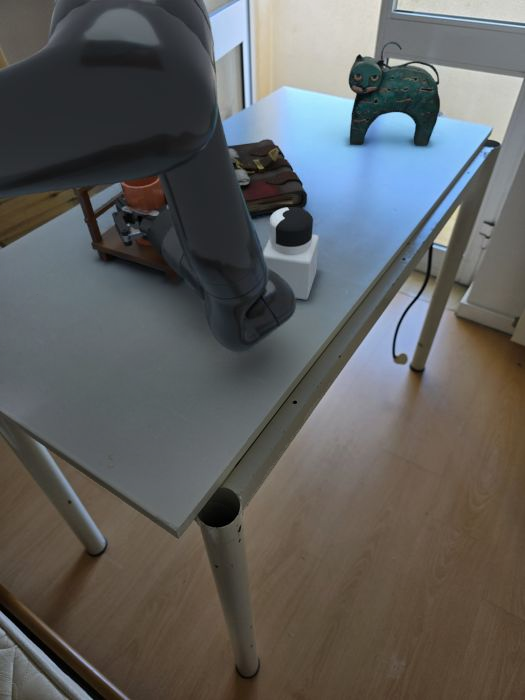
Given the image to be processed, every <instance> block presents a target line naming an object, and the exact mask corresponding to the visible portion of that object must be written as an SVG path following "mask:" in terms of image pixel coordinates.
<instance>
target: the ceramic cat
mask: <svg viewBox="0 0 525 700" xmlns="http://www.w3.org/2000/svg"><path fill="white" fill-rule="evenodd" d="M390 44H391V45H396V46H397V47H398V48H399V50H400V51H401V50H402V49H403V48H402V46H401V45H400V44H399V42H397V41H389V42H387V43H385V44H384V46H383V48H382V50H381V54H380V60H377V59H376V58H374V57H372V56H367V55H365V56H363V55H361V53H359V54H357V56H356V57H355V60H354V62H353V64H352V66H351V68H350V71H349V75H348V85H349V88H350V90H351V91H352V92H353V93H355V97H354V102H353V106H352V111H351V117H350V127H349V145H350V146H351V145H352V146H363V144H364V142H365V138H366V135H367V133H368V130H369V128H370V126H371V125H372V124H373V123H374V122H375V120H377V119H378V118H379V117H380V116H382V115H386V114H392V113H401V114H404V115H407V116H408V117H410V118H411V119H412V121H413V122H414V124H415V125H414V126H415V127H414V133H413V139H412V140H413V141H412V142H413V144H414V145H415V146H417V147H427V146H428V145H429V143H430V140H431V137H432V134H433V132H434V130H435V126H436V124H437V121H438V117H439V113H440V109H441V98H440V95H439V87H438V86H439V85H440V76H439V72H438V71H437V68H436V67H435V65H433V64H431V63H429V62H426V61H420V60H413V61H408V62H406V63H401V64H399V65H392V66H391V65H388V64H386V63H385V59H384V58H383V57H384V56H383V53H384V50H385V48H386V47H387V46H389V45H390ZM412 64H417V65H423V66H427V67H428V68H430V69H432V70H433V72H434V74H435V75H436V79H437V81H436V80H435V78H434V77H433V75H431V73H429V71H427V70H426V69H425V68H422V67H419V66H416V65H412Z"/></svg>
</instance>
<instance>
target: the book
mask: <svg viewBox="0 0 525 700" xmlns="http://www.w3.org/2000/svg"><path fill="white" fill-rule="evenodd" d="M228 149H229V153H230V156H231V160H232V163H233V166H234V169H235V173H236V176H237V179H238V182H239V185H240V188H241V190H242V193H243V196H244V199H245V202H246V205H247V208H248V210H249V213H250V216H251V217H254V216H259V215H264V214H271V213H272V214H273V213H274V212H275V211H277V210H279V209H281V208H286V207H297V208H301V209H304V208H305V207H306V206H307V203H308V193H307V191H306V190H305V189H304V187H303V182H302V181H301V179H300V178H299V176H298V174H297V173H296V172H295V171H294V168H293V167H292V165H291V163H290V162H289V161H288V159H286V158H285V155H284V152H283V151H282V150H281V148H280V146H279V145H276V144H275V142H274V141H273V139H270V138H266V139H261V140H260V141H257V142H249V143H242V144H241V143H240V144H234V145H233V144H232V145H228Z"/></svg>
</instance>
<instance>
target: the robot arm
mask: <svg viewBox="0 0 525 700" xmlns="http://www.w3.org/2000/svg"><path fill="white" fill-rule="evenodd" d="M49 25H50V26H49V32H48V38H47V43H46V44H45V46H44V47H42V48H41V49H40V50H38V51H36V52H34V53H33V54H31V55H29V56H27V57H25V58H23V59H21V60H19V61H17V62H15V63H14V62H13V63H12V64H10V65H7V66H4V67H3V68H2V67H1V68H0V200H6V199H11V198H16V197H22V196H27V195H28V196H29V195H34V194H42V193H49V192H56V191H66V190H73V189H74V188H82V187H91V186H96V187H98V186H99V187H100V186H104V185H106V186H107V185H113V184H121V182H128V181H133V180H139V179H144V178H149V177H153V176H157V175H158V177H159V180H160V183H161V186H162V189H163V191H164V195H165V199H166V205H167V206H166V205H164V206H161V207H159V208H157V209H152V210H147V209H144V208H141V207H137V208H136V209H135V208H132V207H130V205H129V204H128V203H127V202H126V201H125V199H124V198H122V196H119V197H117V201H115V205H114V206H115V208H116V211H113V212H112V213H111V216H112V219H113V222H114V224H115V227H116V230H117V232H118V234H119V236H120V238H121V240H122V242H123V244H124V246H131V245H132V244H133V243H132V240H135V239H138V238H142V239H144V240H146V241H149V242H150V243H151V245H152V246H153V247H154V249H155V250H156V251H157V252H158V253H159V254H160V255H161V257H162V258H163V259H164V260H165V262H166V263H167V265H168V266H170V267H171V268H172V269H173V270H174V271H175V272H176V273H177V274H178V275H179V276H181V278H182V279H183V280H184V281H185V282H186V283H187V285H188V286H189V287H190V288H191V289H192V290H193V291H194V292H195V294H197V296H198V297H199V298H201V299H202V300H203V301H204V307H205V315H206V316H205V317H206V320H207V324H208V326H209V329H210V332H211V334H212V336H213V337H214V338H215V340H216V341H217V343H218V344H220V346H222V347H223V348H224V349H226V350H227V351H229V352H232V353H240V354H241V353H246V352H248V351H250V350H252V349H254V348H255V347H256V346H257V345H259V344H260V343H261V342H263V341H264V340H265V339H267V338H268V337H269V336H270V335H271V334H273V333H274V332H275V331H276V330H278V329H279V328H281V326H283V325H284V324H285V323H287V322H288V321H289V320H290V319H291V318H292V317H293V316H294V313H295V312H296V308H297V298H295V295H294V292H293V290H292V288H291V287H290V285H289V284H288V283H287V282H286V281H285V280H284V279H283V278H282V277H281V276H280V275H278V274H277V273H275V272H274V271H272V270H270V269H268V266H267V262H266V259H265V256H264V253H263V251H264V249H263V248H262V245H261V241H260V239H259V235H258V234H257V233H258V232H257V230H256V228H255V225H254V221H253V220H252V219H253V218H252V216H250V213H249V210H248V208H247V205H246V202H245V199H244V196H243V193H242V190H241V188H240V185H239V182H238V179H237V176H236V173H235V169H234V166H233V163H232V160H231V156H230V153H229V149H228V146H229V145H228V142H227V138H226V134H225V130H224V126H223V121H222V117H221V111H220V107H219V102H218V101H219V100H218V85H217V84H218V80H217V68H216V54H215V40H214V35H213V30H212V25H211V19H210V15H209V12H208V9H207V6H206V4H205V1H204V0H54V3H53V9H52V15H51V19H50V24H49ZM133 217H134V219H133ZM126 224H127V225H126ZM130 226H133V227H135V228H136V229H134V228H133V227H130Z"/></svg>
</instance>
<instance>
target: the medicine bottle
mask: <svg viewBox="0 0 525 700" xmlns="http://www.w3.org/2000/svg"><path fill="white" fill-rule="evenodd" d="M313 229H314V218H313V215H311V213H310V212H309V211H307V210H306V209H304V208H302V209H301V208H297V207H286V208H281V209H279V210H277V211H275V212H272V214H271V215H270V217H269V238H268V240H267V242H266V244H265V246H264V249H263V253H264V256H265V259H266V262H267V266H268V269H270V270H272V271H274V272H275V273H277V274H278V275H280V276H281V277H282V278H283V279H284V280H285V281H286V282H287V283H288V284H289V285H290V287H291V288H292V290H293V292H294V295H295V299H296V300H298V299H299V300H305V301H306V300H308V299H309V296H310V293H311V290H312V286H313V284H314V281H315V277H316V275H317V268H318V258H319V257H318V254H319V241H320V237H319V235H318V234H313Z"/></svg>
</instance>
